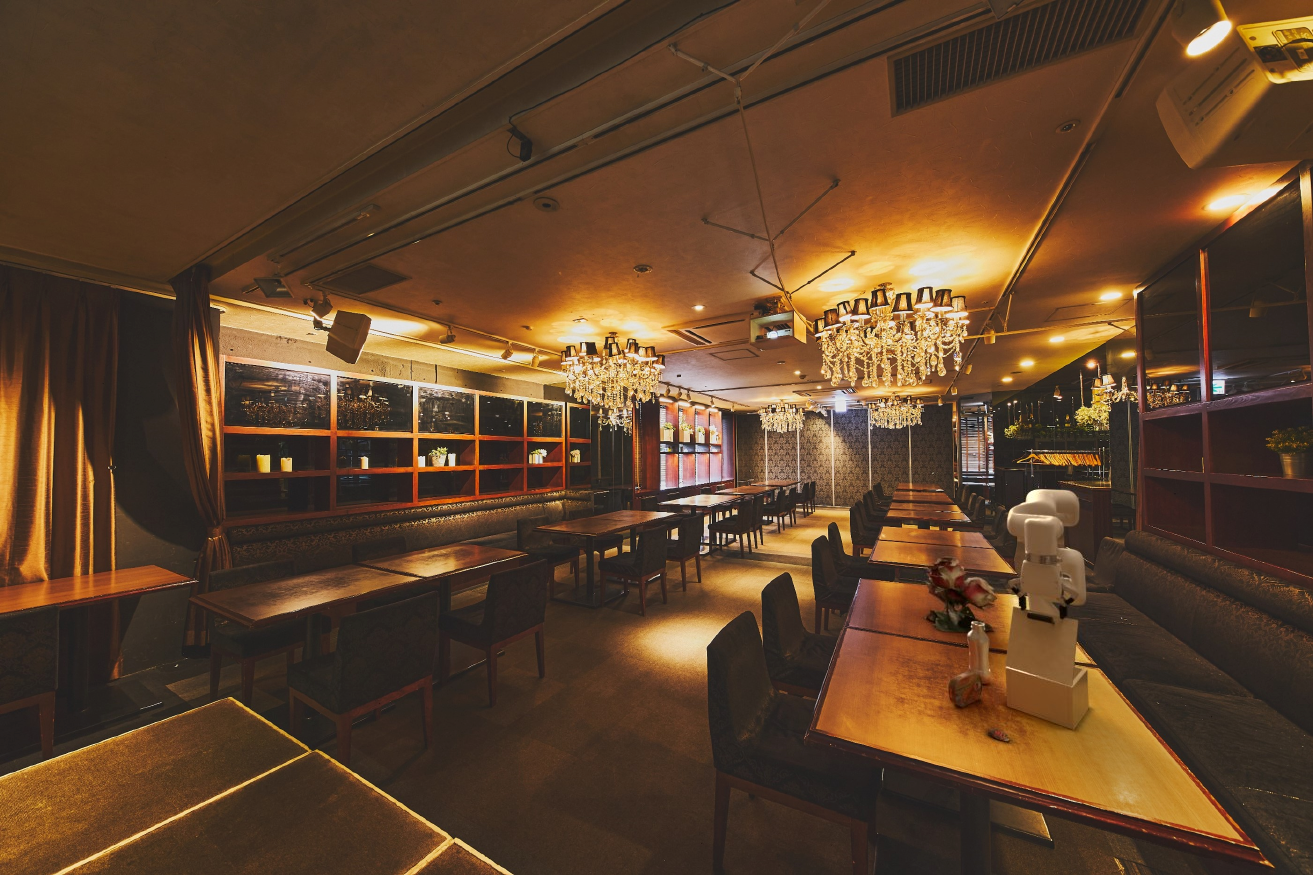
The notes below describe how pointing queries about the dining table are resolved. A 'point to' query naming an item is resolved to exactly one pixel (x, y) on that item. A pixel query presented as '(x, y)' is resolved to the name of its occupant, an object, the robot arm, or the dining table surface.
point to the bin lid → (1042, 645)
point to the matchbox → (998, 734)
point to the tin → (965, 688)
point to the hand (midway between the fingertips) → (1042, 613)
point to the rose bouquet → (957, 596)
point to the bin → (1049, 696)
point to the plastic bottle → (979, 652)
